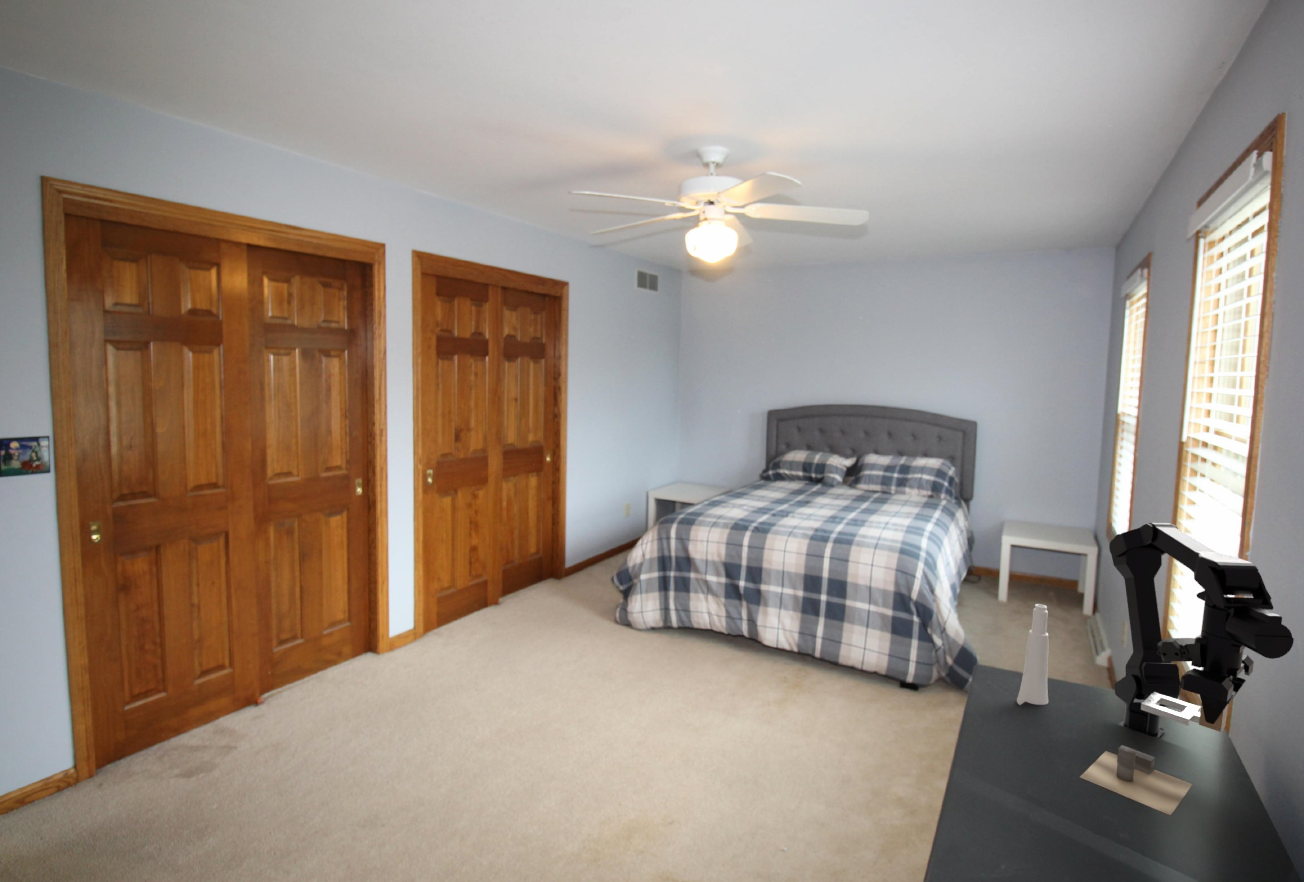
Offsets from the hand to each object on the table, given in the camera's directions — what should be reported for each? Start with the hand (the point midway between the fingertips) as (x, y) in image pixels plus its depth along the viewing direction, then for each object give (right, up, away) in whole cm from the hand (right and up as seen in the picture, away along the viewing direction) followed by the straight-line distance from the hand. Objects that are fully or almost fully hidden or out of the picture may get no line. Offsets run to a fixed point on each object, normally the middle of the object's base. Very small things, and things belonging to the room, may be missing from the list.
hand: (1212, 719), depth 120 cm
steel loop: (-3, -1, +3) cm, 4 cm away
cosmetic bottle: (-15, -9, +29) cm, 34 cm away
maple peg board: (-13, -12, 0) cm, 18 cm away
